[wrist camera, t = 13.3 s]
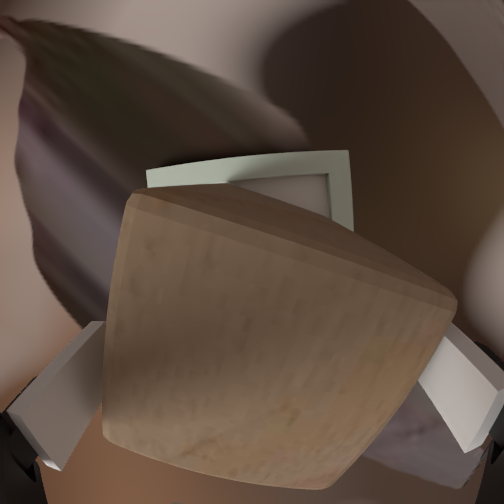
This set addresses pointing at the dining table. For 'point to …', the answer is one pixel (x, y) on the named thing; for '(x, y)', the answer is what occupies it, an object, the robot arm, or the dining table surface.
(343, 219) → the square tray
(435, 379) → the robot arm
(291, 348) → the wooden block
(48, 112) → the dining table surface
